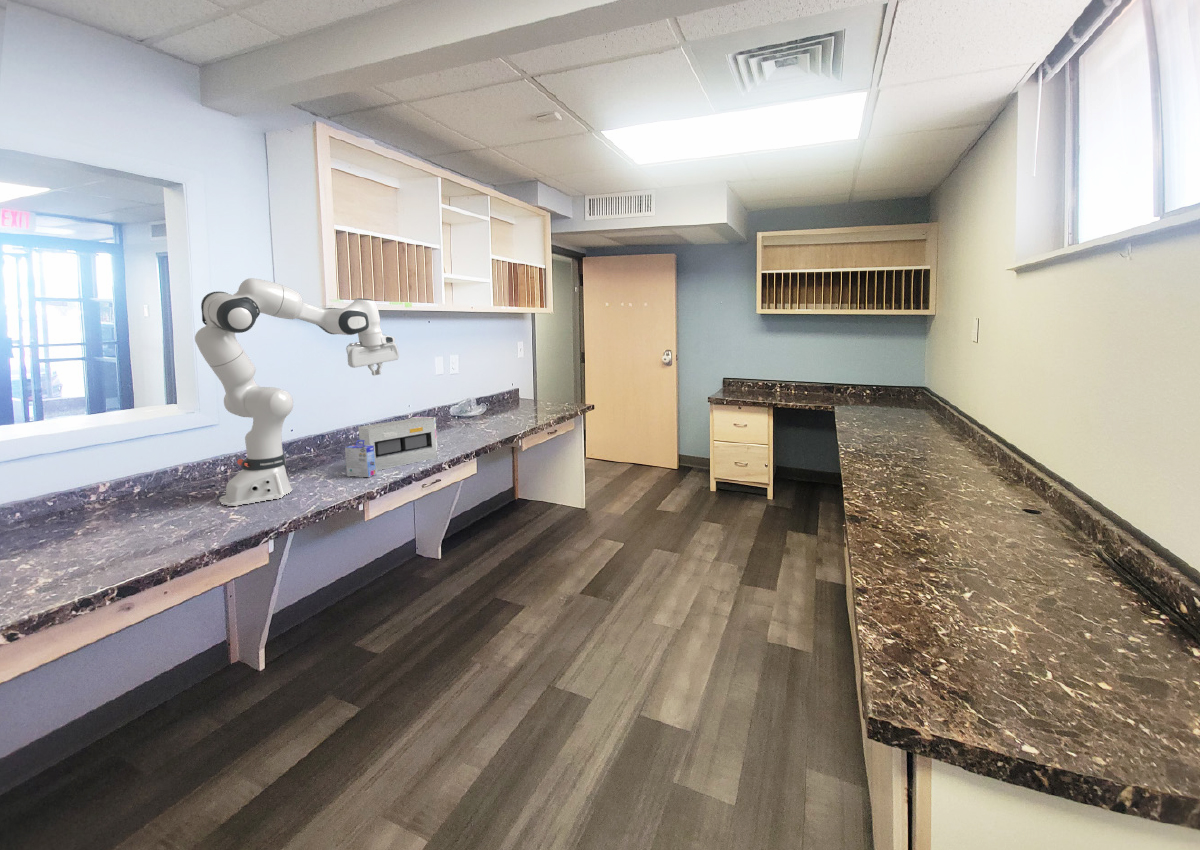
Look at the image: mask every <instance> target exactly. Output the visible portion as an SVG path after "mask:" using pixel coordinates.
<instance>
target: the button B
mask: <svg viewBox="0 0 1200 850" xmlns="http://www.w3.org/2000/svg"><path fill="white" fill-rule="evenodd" d="M399 439H400V444H401V448H402V449H405V450H407V449H412V448H418V447H423V446H427V442H426V435H425V434H417V435H411V436H405V437H400V438H399Z"/></svg>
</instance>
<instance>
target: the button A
mask: <svg viewBox="0 0 1200 850" xmlns="http://www.w3.org/2000/svg"><path fill="white" fill-rule="evenodd" d="M374 443H375V454H378V455H380V454H385V453H390V452H395V451H401V444H400V439H398V438H394V439H388V440H383V441H377V442H374Z"/></svg>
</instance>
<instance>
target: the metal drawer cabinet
mask: <svg viewBox="0 0 1200 850" xmlns="http://www.w3.org/2000/svg"><path fill="white" fill-rule="evenodd" d="M418 417H419V418H413V419H410V418H407V419H402V420H394V421H388V422H380V423H375V424H368V425H367V424H366V425H362V426H358V429H357V430H358V438H359V439H358V440H365V443H364V445H372V446H374V457H375V469H376V471H377V470H382V469H386V468H391V467H395V466H400V465H405V466H407V465H406V464H410V463H414V462H419V461H423V460H428V459H433V460H435V459H434V458H437V459H438V457H437V456H438V455H437V454H438V451H436V437H435V422H434V419H431V418H427V417H428V416H418ZM417 434H425V435H426V442H427V446H423V447H418V448H412V449H407V450H405V449H402V448H401V451H395V452H390V453H385V454H380V455H378V454H375V443H374V442H377V441H383V440H388V439H394V438H398V439H399V438H400V437H405V436H411V435H417ZM359 443H361V444H362V443H363V442H361V441H360V442H359ZM428 461H429V460H428ZM419 463H420V462H419ZM414 464H415V463H414ZM410 465H411V464H410ZM400 467H401V466H400ZM391 469H392V468H391ZM386 470H387V469H386ZM382 471H383V470H382ZM377 472H378V471H377Z"/></svg>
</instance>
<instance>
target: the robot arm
mask: <svg viewBox="0 0 1200 850" xmlns="http://www.w3.org/2000/svg"><path fill="white" fill-rule="evenodd" d="M303 300H304V299H303V298H302V296H301V294H300V293H299V292H298V291H296V290H294V289H292V288H290V287H288V286H286V285H283V284H280V283H278V282H273V281H269V280H265V279H264V280H263V279H259V278H252V277H251V278H246V279H245V280H243V281H242V282H241V283H240V285H239V286H238V289H237V291H236V293H234V294H231V293H228V292H224V291H213V292H209V293H207V294H206V295H205V296H204V297H203V298H202V300H201V305H200V310H201V320H202V323H203V324H204V325H205V326H203V327H201V328H200V329H199V330H197V332H196V333H195V335H194V341H195V343H196V344H195V345H196V346H197V347H198V350H199V351H200V354H201V356H202V357H203V359H204V361H206V363H207V364H208V366H209V367H210V369H211V370H212V371H213V373H214V374H215V376H216V377H217V378H218V379H219V382H221V385H222V386H223V389H224V391H225V395H224V398H223V405H224V408H225V409H226V411H227V412H228V413H230V414H231V415H234V416H238V417H241V418H252V426H251V429H250V430H249V431H248V432H247V433H246V434H245V437H244V441H245V450H246V455H247V457H246V458H245V459H242V458H239V459H238V460H237V461H236V463H237V464H238V465H239V466H241V468H242V469H241V470H240V471H239V472H238V473H237V474H235V476H233V477H232V478H231V479H230V480H229V481H228V482H227V483H226V487H225V495H222V496H220V497H219V499H218V501H220V502H221V503H223V504H225V505H230V506H235V505H242V504H248V505H250V504H249V503H254V504H256V503H255V502H259V503H261V502H260V501H265V502H267V501H266V500H271V501H274V500H273V499H277V500H280V499H279V498H281V499H283V498H284V497H285V496H287V495H289V494H291V493H292V492H293V491H292V490H293V488H292V486H291V484H290V481H289V477H288V474H287V471H286V469H287V461H286V456H285V455H286V454H285V453H284V451H283V442H282V441H283V440H282V429H283V425H284V422H285V420H286V418H287V416H289V415H290V414H291V412H292V411H293V408H294V399H293V396H292V395H291V394H290V393H289V392H288V391H287V390H284V389H280V388H277V387H271V386H270V387H267V386H259V384H257V383H256V382H255V379H254V376H255V374H256V370H257V369H256V367H255V365H254V363H253V362H252V359H250V357H249V356H248V354H247V353H246V351H245V350H244V348H243V347H242V346H241V344H240V343H239V342H238V340H237V337H236V333H237V334H241V333H245V332H248V331H250V330H251V329H252V328H253V327H254V325H255V323H256V320H257V319H258V317H259V316H260V314H265V315H268V316H271V317H275V318H279V319H284V320H295V319H298V320H301V321H304V322H307V323H310V324H314V325H316V326H317V327H319V328H320V329H321V330H322V331H324V332H326V333H327V334H330V335H344V336H345V335H346V336H354V335H356V334H357V336H358V342H352V343H351V342H350V343H349V344H348V345H347V346H346V348H345V350H346V353H347V365H348V366H349V367H350V368H360V367H361V368H362V367H366V366H367V368H368V369H369V370H370V371H371V375H372V376H378V375H381V374H382V372H381V370H382V367H383V363H387V362H391V361H392V362H394V361H398V360H399V358H400V353H399V349H398V345H397V344H396V338H395V337H394V336H391V335H386V334H383V330H382V329H381V317H380V312H379V308H378V305H377V303H376V301H375V300H374V299H370V298H354V300H353V302H351V303H350V304H349V305H347V306H346V307H344V308H335V307H327V308H321V307H317V306H315V305H312V304H309V303H305V302H304V301H303ZM374 365H376V366H377V367H376V369H374V367H375V366H374ZM291 491H292V492H291ZM290 492H291V493H290ZM288 493H289V494H288ZM286 494H287V495H286ZM284 495H285V496H284ZM283 496H284V497H283ZM282 497H283V498H282ZM220 502H219V503H220ZM242 506H243V505H242Z"/></svg>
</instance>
